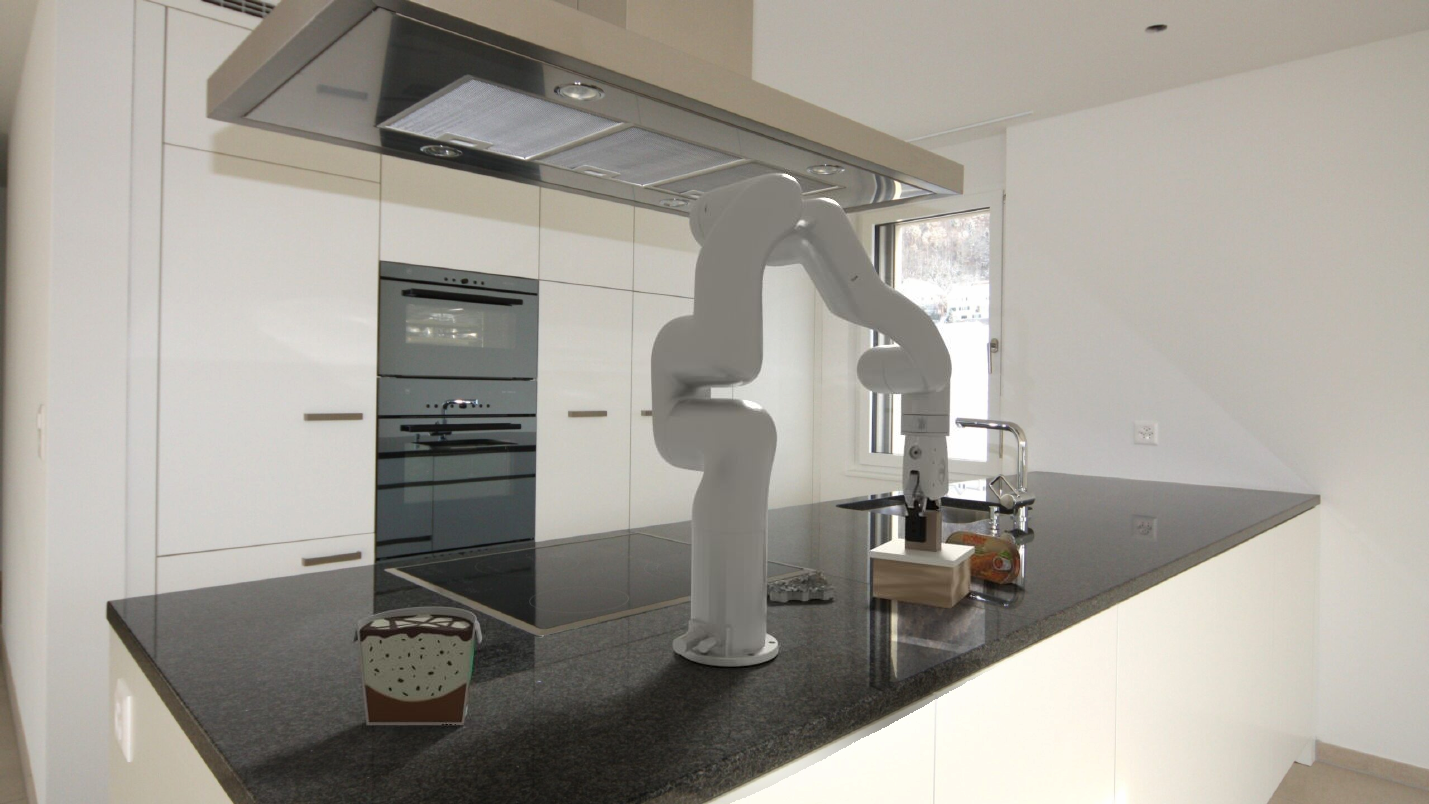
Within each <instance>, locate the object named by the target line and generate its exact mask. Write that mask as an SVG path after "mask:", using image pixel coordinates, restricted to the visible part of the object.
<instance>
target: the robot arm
mask: <svg viewBox="0 0 1429 804" xmlns="http://www.w3.org/2000/svg"><path fill="white" fill-rule="evenodd" d="M688 220H689V223H688V224H689V229H690V231H691V234H692V237H693V239H694V240H695V241H696V242H697V244H698V245H699V246H700V247H701V248H700V251H699V253H698V256H697V258H696V259H697V260H696V265H695V270H694V286H693V287H694V289H693V291H694V292H693V312H692V314H689V315H681V316H678V317H675V318H673V319H671V320H669V321H667V322H666V324H664V325H663V326H662V327H661V329H660V330H659V331H658V333H657V335H656V337H655V340H654V342H653V346H652V349H651V354H650V382H651V383H650V385H651V387H650V390H651V417H652V418H651V422H652V434H653V439H654V440H653V441H654V444H655V447H656V449H657V452H658V454H659V455H660V457H661V458H662V459H663V460H664V461H665V462H666V463H667V464H669V465H671V466H673V467H675V468H679V469H682V470H687V471H693V472H701V473H702V477H701V479H700V482H699V484H698V487H697V489H696V491H695V494H694V497H693V501H692V506H691V507H692V508H691V568H690V569H691V571H690V574H691V575H690V577H691V578H690V579H691V580H690V583H691V584H690V585H691V586H690V619H689V620H688V630H687V631H686V633H684V634H682V635H680V636H677V637H675V638H674V639H673V641H672V648H673V651H674V652H675V653H676V654H679V655H681V656H682V657H684V658H685V659H687V660H689V661H692V662H695V663H697V664H701V665H707V666H715V667H716V666H717V667H745V666H747V667H748V666H753V665H759V664H763V663H766V662H768V661H770V660H772V659H774V658H775V657H776V656H777V655H778V654H779V641H778V640H777V638H775V637H774V636H772V635H770V634H768V633H767V614H768V613H767V610H768V609H767V607H768V606H767V601H768V600H767V599H768V595H767V582H768V535H769V533H768V529H769V527H768V522H769V521H768V518H769V517H768V515H769V510H768V509H769V507H768V506H769V496H770V495H769V493H770V492H769V491H770V481H771V478H772V477H771V476H772V471H773V466H774V465H773V464H774V461H775V457H776V451H777V445H778V444H777V443H778V434H777V432H778V431H777V428H776V423H775V421H774V420H773V417H772V416H771V414H770V413H769V412H768V411H767V410H766V409H765V408H764V407H762V406H761V405H759V404H758V403H756V402H753V401H750V400H746V399H742V398H741V399H740V398H729V397H728V398H723V397H721V398H719V397H712V389H713V388H714V389H715V388H716V389H717V388H719V389H720V388H725V389H726V388H727V389H728V388H738V387H743V386H746V385H748V384H751V383H752V382H753V381H755V380H756V379H757V378H758V377H759V375H760V373H761V370H762V367H763V360H764V322H763V321H764V319H763V317H764V316H763V315H764V314H763V310H764V309H763V289H764V288H763V287H764V286H763V284H764V283H763V281H764V273H765V270H766V267H784V266H791V265H797V264H798V265H801V266H802V267H803V268H804V270H805V272H806V273H807V275H808V276H809V279H810V280H811V282H812V284H813V285H814V287H815V289H816V290H817V292H818V293H819V296H820V297H821V299H822V301H823V303H824V304H825V307H826V308H827V310H828V311H829V312H830V313H831V314H832V315H834V316H836V317H837V318H839V319H842V320H844V321H846V322H849V323H851V324H855V325H858V326H861V327H863V328H865V329H868V330H869V329H870V330H873V331H875V332H878V333H880V334H881V335H884V336H885V337H886V338H889V339H890V340H891V341H893V342H894V343H895V344H884V345H883V344H881V345H876V346H873V347H870V348H868V349H866V351H864V352H863V353H862V354H861V355H860V357H859V358H858V362H857V364H856V374H857V378H858V380H859V383H860V384H861V385H862V386H863V387H864V388H865V389H866V390H868V391H870V392H872V393H876V394H882V395H883V394H884V395H900V435H901V436H904V447H903V458H902V475H901V476H902V480H901V481H902V482H901V483H902V484H901V485H902V495H903V496H904V506H905V509H904V515H905V516H904V539H905V540H906V541H911V542H920V543H924V542H926V529H927V517H926V516H924V514H925V510H934V511H942V510H941V509H942V500H941V498H943V497H945V496H946V495H947V494H948V493H949V489H950V486H949V455H948V453H949V452H948V444H947V437H950V430H951V429H950V428H951V425H950V424H951V421H950V419H951V415H950V414H951V377H952V371H953V368H952V367H953V365H952V359H951V355H950V353H949V349H948V347H947V345H946V343H945V341H944V339H943V337H942V334H941V333H940V331H939V329H938V326H937V325H936V322H934V321H933V319H932V318H931V317H930V316H929V314H928V313H927V312H926V311H925V310H924V309H922V308H921V307H920V306H919V305H918V304H917V303H915V302H913V301H912V300H911V299H910V298H908V297H907V296H906V295H904V294H903V293H901V292H900V291H898V290H896V289H895V288H893V287H891V286H890V285H889V284H886V282H884V281H883V279H882V278H880V276H879V273H878V272H877V269H876V268H875V266H874V264H873V262H872V260H871V258H870V257H869V254H868V252H867V251H866V249H865V248H864V247H865V246H863V244H862V241H861V240H860V237H859V236H858V234H857V232H856V231H855V229H854V226H853V225H852V223H851V221H850V219H849V217H848V215H847V214H846V212H845V211H844V209H843V208H842V206H841V205H840V204H839V203H838V202H836V201H835V200H833V199H830V198H826V197H816V198H809V199H805V200H804V192H803V189H802V187H801V185H800V184H799V182H798V180H797V179H796V178H794V177H792V176H790V175H788V174H786V173H778V172H777V173H776V172H775V173H774V172H773V173H767V174H761V175H757V176H753V177H750V178H747V179H743V180H740V181H737V182H734V183H730V184H727V185H724V186H720V187H717V188H713V189H711V190H709V191H706V192H704V193H702V194H701V195H700V196H698V198H697V199H696V200H695V201H694V202H693V204H692V205H691V208H690V211H689V218H688Z"/></svg>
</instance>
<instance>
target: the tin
mask: <svg viewBox="0 0 1429 804" xmlns="http://www.w3.org/2000/svg"><path fill="white" fill-rule="evenodd" d="M944 543H945V544H955V545H964V546H973V547H975V553H974V554H972V555H971V568H970V577H974V578H979V579H982V580H986V581H991V582H993V583H997V584H999V585H1008V584H1012V583H1014V581H1016V580H1017V578H1018V577H1019V575H1020V570H1021V556H1020V555H1021V554H1020V551H1019V550H1018V548H1017V546H1016V545H1015V544H1014V543H1013V542H1012V541H1011V540H1009V539H1008V538H1005V537H1000V536H996V535H989V534H984V533H978V532H973V531H965V530H964V531H963V530H957V531H954V532H952V533H951V534H950V535H949V536H947V538H946V540H945V542H944Z"/></svg>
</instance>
